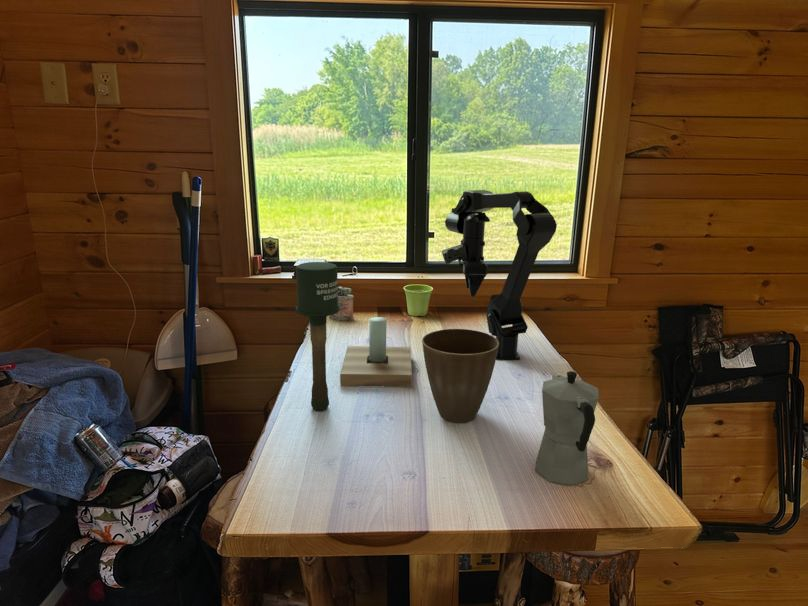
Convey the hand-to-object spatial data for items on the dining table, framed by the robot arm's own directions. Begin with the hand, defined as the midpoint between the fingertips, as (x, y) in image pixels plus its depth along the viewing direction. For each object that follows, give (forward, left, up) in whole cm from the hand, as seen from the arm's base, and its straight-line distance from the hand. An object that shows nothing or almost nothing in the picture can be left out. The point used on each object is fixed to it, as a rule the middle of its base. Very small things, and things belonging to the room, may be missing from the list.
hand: (470, 292), depth 158 cm
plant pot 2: (-49, +8, -13) cm, 51 cm away
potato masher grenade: (-47, +36, -13) cm, 61 cm away
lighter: (+15, +38, -13) cm, 43 cm away
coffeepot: (-70, -8, -13) cm, 72 cm away
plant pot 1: (+21, +14, -13) cm, 28 cm away
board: (-27, +25, -13) cm, 39 cm away
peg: (-27, +25, -13) cm, 39 cm away
